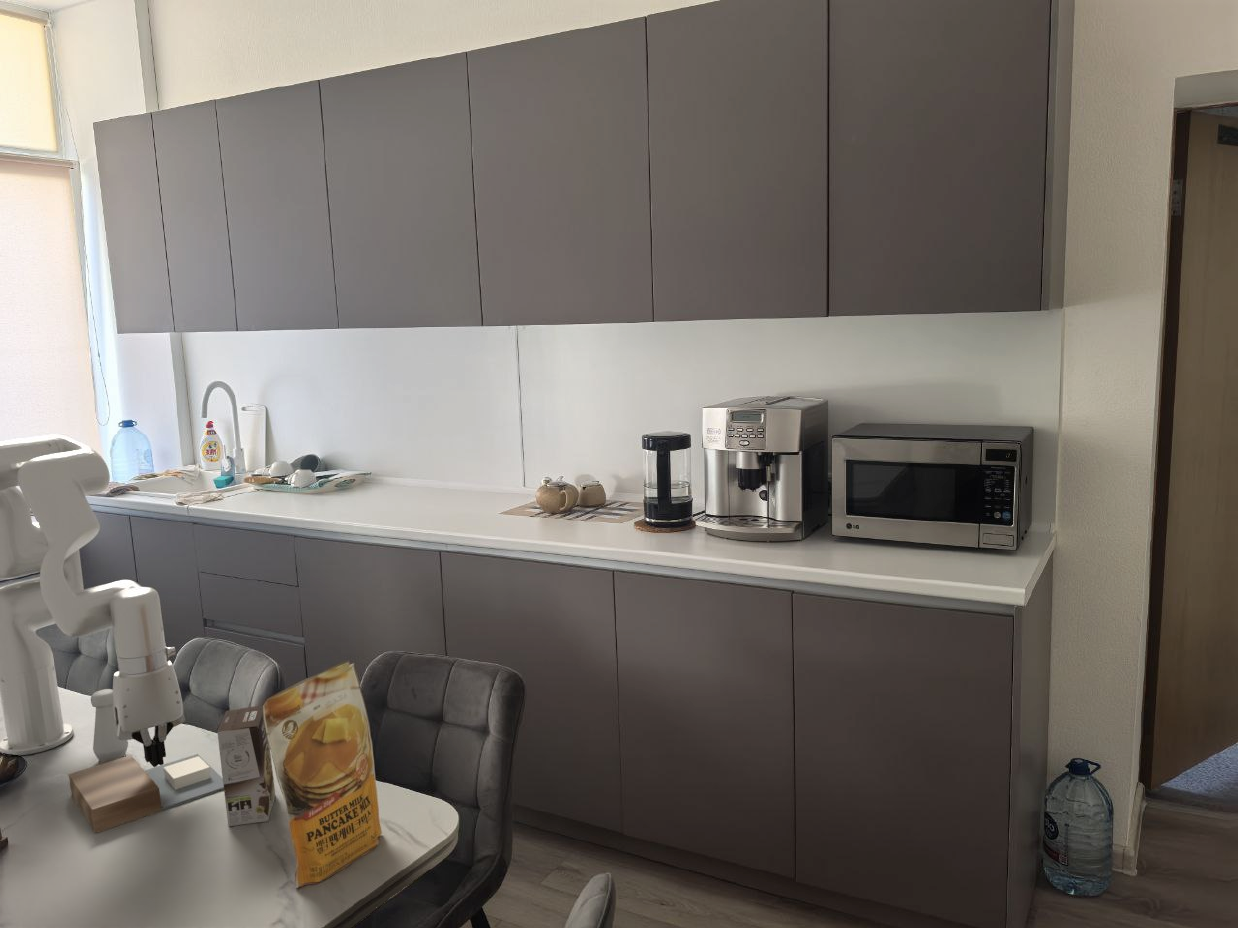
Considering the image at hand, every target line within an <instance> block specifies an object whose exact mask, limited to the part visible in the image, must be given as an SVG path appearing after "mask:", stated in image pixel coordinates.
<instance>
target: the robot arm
mask: <svg viewBox="0 0 1238 928" xmlns="http://www.w3.org/2000/svg"><path fill="white" fill-rule="evenodd" d="M110 477H111V475H110V471H109V468H108V465H107V463H106V461H105V460H104V458H103V457H102V456H101V455H100V454H99V453H98V452H97V451H96V450H94V449H93V448H92V447H90V446H88V445H85V444H83V443H81V442H79V441H76V440H75V439H73V438H71V437H68V436H65V435H62V434H61V435H60V434H47V435H41V436H33V437H32V436H31V437H26V438H16V439H8V440H3V441H1V440H0V580H8V579H9V580H10V579H15V578H19V577H23V576H29V575H31V574H36V573H39V577H35V578H32V579H26V580H23V581H19V582H18V581H17V582H15V583H11V584H7V585H6V584H5V585H4V586H0V701H1V706H2V707H1V708H2V715H3V719H4V720H3V721H4V724H5V727H4V728H5V732H6V736H5V737H4V738H2V740H0V753H1V754H3V753H7V754H13V755H18V756H27V755H34V754H37V753H38V754H39V753H41V752H45V751H48V750H51V749H54V748H56V747H58V746H60V745H63V744H64V743H66V742H68V741H69V740H70V739H71V738H73V736H74V727H73V725H71V724H69V723H64V720H63V714H62V706H61V700H60V693H59V688H58V686H59V685H58V680H57V673H56V667H55V661H54V653H53V651H52V648H51V645H50V644H49V643H48V642H46V641H45V640H44V639H42V638H41V637H39V635H37V633H36V631H37V630H40V629H42V628H44V627H48V626H52V625H55V624H56V626H57V628H58V629H59V630H60V631H61V633H63V634H64V635H66V636H67V637H70V638H82V637H86V636H89V635H90V636H91V635H93V634H96V633H99V632H102V631H105V630H108V629H112V631H113V638H114V646H115V653H116V660H117V668H118V671H116V672H114V674H113V676H112V677H113V678H112V679H113V680H112V690H113V706H114V718H115V723H116V725H117V726H118V731H117V737H118V739H119V740H127V741H130V740H134V741H137V742H138V743H141V744H143V745H142V746H143V753H144V758H145V761H146V763H150V765H151V766H152V768H155V767H158V766H161V765H164V764H165V763H164V758H166V756H167V753H166V752H167V751H166V745H165V741H166V739H167V736H168V735H169V734H170V732H171V731H172V730H173V729H174V727H177V726H179V725H181V724H183V723H185V721H186V717H185V715H184V705H183V699H182V693H181V689H180V686H179V682H178V678H177V674H176V670H175V668H174V665H173V663H172V661H171V660H169V659H170V657H171V656H175V655H176V653H177V652H176V648H175V646H171V647H170V646H168V647H167V646H166V641H165V640H166V639H165V638H166V637H165V632H164V624H163V623H164V622H163V617H162V607H161V599H160V595H159V592H158V591H157V590H156V589H154V588H153V587H149V586H142V585H141V584H139V583H138V582H136V581H134V580H132V579H120V580H115V581H112V582H109V583H104V584H100V585H97V586H92V587H88V588H84V578H83V572H82V565H81V564H82V563H81V556H80V555H81V553H80V549H81V548H83V547H84V546H86V545H87V544H88V543H90V542H91V541H92V540H93V539H95V537H96V536H97V535H98V533H99V532H100V529H101V525H100V523H99V520H98V518H97V516H96V514H95V512H94V511H93V508H92V506H91V505H90V502H89V501H88V499H87V497H86V496H92V495H97V494H100V493H102V492H104V491H106V489H107V488H108V487H109V484H110V480H111V479H110ZM17 487H19V488H17ZM32 514H33V516H34V518H35V522H33V520H32ZM153 727H154V735H153V737H152V738H151V735H150V732H149V729H151V728H153Z"/></svg>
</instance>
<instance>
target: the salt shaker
mask: <svg viewBox="0 0 1238 928" xmlns="http://www.w3.org/2000/svg"><path fill="white" fill-rule="evenodd" d="M90 704H91V706H92V707H93V708H95V719H94V720H95V721H94V728H93V730H94V731H93V741H92V742H93V744H92V751H93V754H94V755H95V757H96V758H97V759H98V761H99V762H100V763H101V764H103V763H106V762H110V761H113V760H116V759H120V758H123V757H126V753H127V750H128V746H129V740H119V739H118V737H117V731H118V726H117V725H116V723H115V718H114V706H113V688H111V689H110V688H104V689H100V690H96V691H95V692H93V693H92V695H91V696H90Z"/></svg>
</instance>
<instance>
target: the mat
mask: <svg viewBox="0 0 1238 928" xmlns="http://www.w3.org/2000/svg"><path fill="white" fill-rule="evenodd" d="M198 756H199V757H200V758H201V759H202V760H203V761H204V762H205V763H206V764H207V765H208V766H209V767H210V773H211V778H209V779H206V780H203V781H200V782H197V783H194V784H191V785H188V786H185V787H182V788H179V789H176V790H175V789H174V788H173V787H172V786H171V784H170V783H169V782H168V781H167V780H166V779H165V776H164V768H163V767H166V766H169V765H172V764H175V763H179V762H182V761H185V760H188V759H191V758H194V757H198ZM144 771H145V772H146V773H147V774H148V775H149V777H150V778H151V779H152V780H153V781H154V782H155V784H156V785H157V786H158V787H159V791H160V798H161V806H162V811H164V810H167V809H171V808H174V807H176V806H179V805H182V804H183V805H184V804H186V803H189V802H190V801H194V800H197V799H199V798H198V797H200V798H202V797H201V796H203V797H206V796H208V794H209V795H212V794H215V793H217V792H216V791H218V792H220V791H219V790H221V791H223V790H222V789H224V785H223V777H222V776H221V775H220V774H219V773H218V772H217V771H216V770H215V769H214V768H213V767H211V765H210V764H209V763H208V762H207V761H206V760H205V759H204V758H203V757H202V756H201V755H200V754H199V753H196V754H193V755H189V756H187V757H183V758H181V759H178V760H174V761H171V762H167V763H164V764H163V765H157V766H156V767H152V768H148V769H144ZM214 792H215V793H214ZM211 793H212V794H211ZM196 798H197V799H196ZM193 799H194V800H193Z"/></svg>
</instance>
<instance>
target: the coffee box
mask: <svg viewBox="0 0 1238 928" xmlns="http://www.w3.org/2000/svg"><path fill="white" fill-rule="evenodd" d="M262 707H263V705H257V706H256V705H255V706H249V707H244V708H243V707H242V708H239V709H231V710H226V711H225V713H224V715H223V718H222V720H221V722H220V724H219V727H218V729H217V739H218V749H219V756H220V757H219V759H220V766H221V768H220V769H221V774H222V776H221V777H222V778H223V785H224V790H223V791H224V800H225V802H224V803H225V808H226V817H227V826H228V827H232V826H233V827H234V826H241V825H248V824H257V823H262V822H263V823H265V822H268V821H269V820H270V815H271V811H272V808H273V804H274V802H275V801H274V800H275V797H276V790H275V780H274V779H275V778H274V771H273V762H272V753H271V749H270V746H269V744H268V741H267V737H266V732H265V727H264V722H263V715H262Z"/></svg>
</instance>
